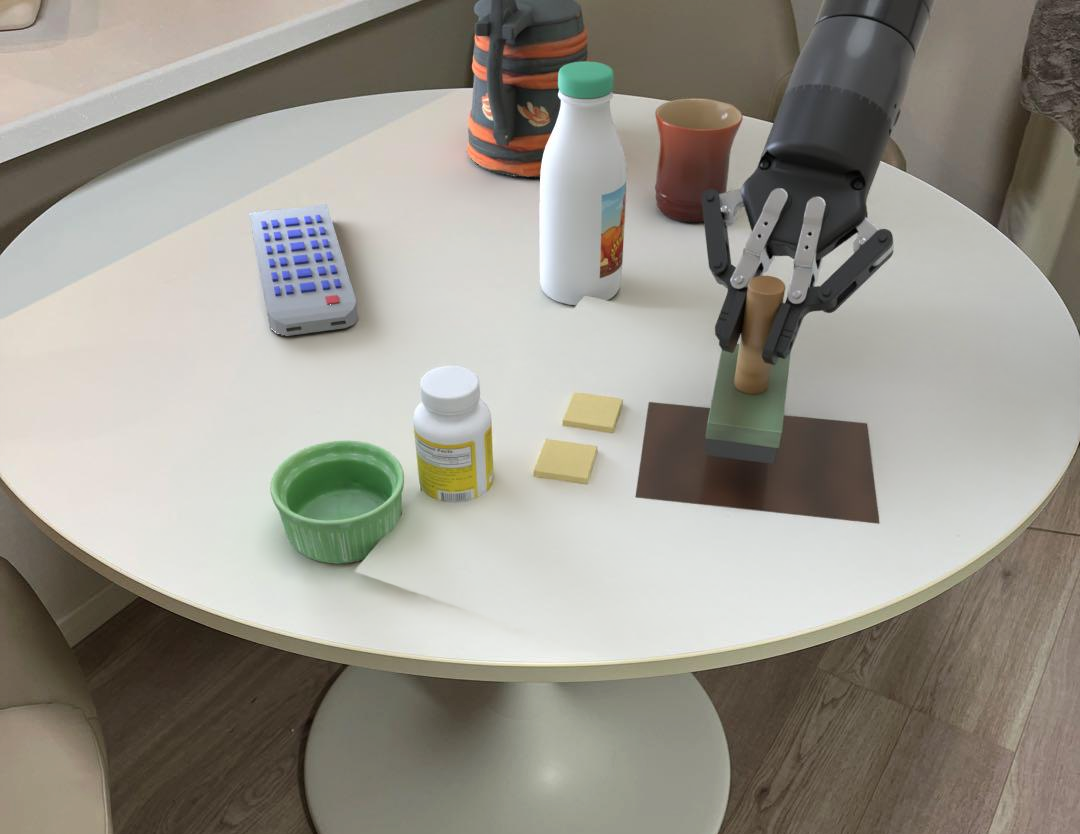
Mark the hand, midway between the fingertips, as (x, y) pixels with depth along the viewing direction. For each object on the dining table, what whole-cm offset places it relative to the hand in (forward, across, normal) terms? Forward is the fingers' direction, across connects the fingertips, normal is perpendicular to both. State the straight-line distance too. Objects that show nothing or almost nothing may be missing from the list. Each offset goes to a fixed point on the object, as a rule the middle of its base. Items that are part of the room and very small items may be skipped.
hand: (747, 353), depth 70 cm
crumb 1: (+7, -12, +9) cm, 17 cm away
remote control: (+1, -48, +16) cm, 50 cm away
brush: (+3, 0, +7) cm, 7 cm away
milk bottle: (-7, -23, +23) cm, 34 cm away
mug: (-22, -20, +39) cm, 50 cm away
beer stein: (-23, -42, +40) cm, 62 cm away
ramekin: (+21, -22, -4) cm, 30 cm away
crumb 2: (+12, -11, +5) cm, 17 cm away
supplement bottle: (+16, -17, +1) cm, 23 cm away
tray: (+6, +1, +10) cm, 12 cm away
